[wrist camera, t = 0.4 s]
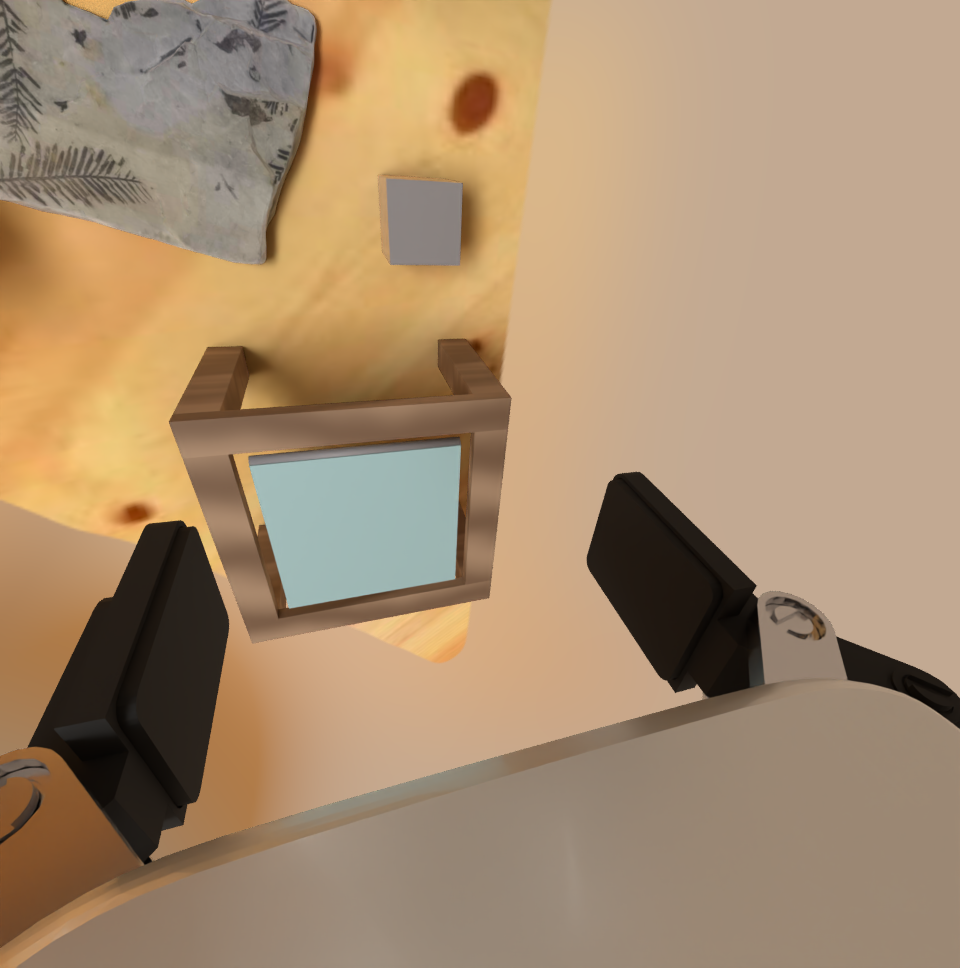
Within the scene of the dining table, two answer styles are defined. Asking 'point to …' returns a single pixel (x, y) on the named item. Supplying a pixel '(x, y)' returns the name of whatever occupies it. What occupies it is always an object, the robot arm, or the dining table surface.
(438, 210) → the gray cube
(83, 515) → the dining table surface
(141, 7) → the fossil rock
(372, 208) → the dining table surface
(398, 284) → the dining table surface
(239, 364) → the trapdoor frame
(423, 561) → the trapdoor
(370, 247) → the dining table surface
